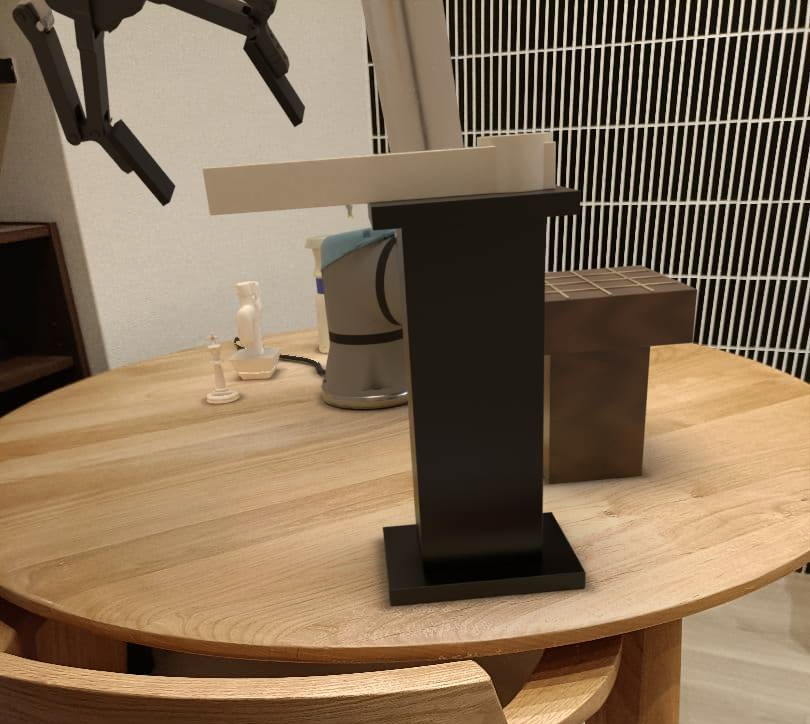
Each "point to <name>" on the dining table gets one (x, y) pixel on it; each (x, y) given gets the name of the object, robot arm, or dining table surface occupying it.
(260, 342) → the figurine
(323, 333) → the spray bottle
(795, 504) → the dining table surface
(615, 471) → the goban
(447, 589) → the stand
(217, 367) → the chess piece
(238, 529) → the dining table surface
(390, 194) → the white long bar
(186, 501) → the dining table surface
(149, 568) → the dining table surface
